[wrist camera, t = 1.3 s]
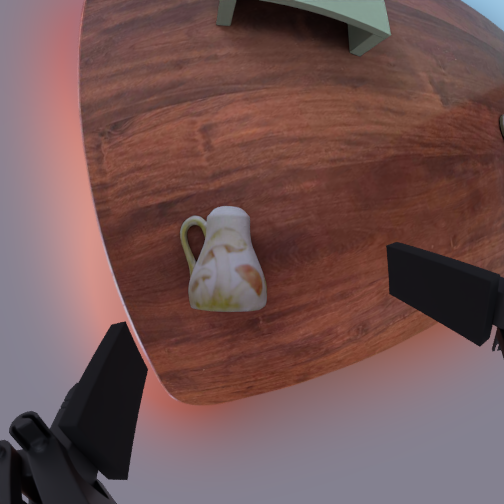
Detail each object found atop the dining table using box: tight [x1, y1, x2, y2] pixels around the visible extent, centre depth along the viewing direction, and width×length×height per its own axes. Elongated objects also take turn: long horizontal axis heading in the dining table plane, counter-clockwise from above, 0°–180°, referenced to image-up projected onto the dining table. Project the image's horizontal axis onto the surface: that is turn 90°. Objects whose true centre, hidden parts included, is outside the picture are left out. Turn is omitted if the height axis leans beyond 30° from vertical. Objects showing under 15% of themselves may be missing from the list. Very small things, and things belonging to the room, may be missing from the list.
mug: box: [180, 206, 267, 312], centre depth 25 cm, size 8×10×10 cm
